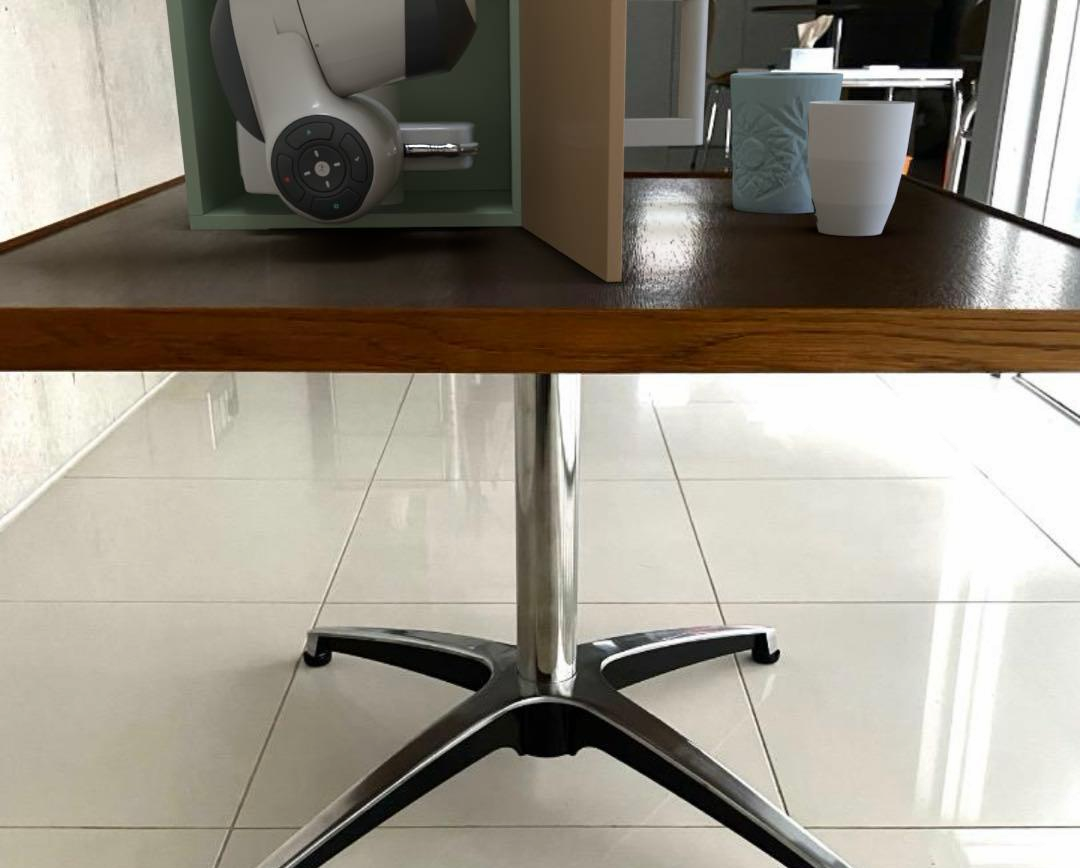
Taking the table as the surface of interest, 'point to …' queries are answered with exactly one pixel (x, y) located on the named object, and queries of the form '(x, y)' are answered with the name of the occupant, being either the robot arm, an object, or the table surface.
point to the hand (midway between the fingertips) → (366, 140)
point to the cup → (856, 162)
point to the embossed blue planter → (775, 138)
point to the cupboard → (457, 96)
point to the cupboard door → (591, 121)
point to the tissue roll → (391, 101)
